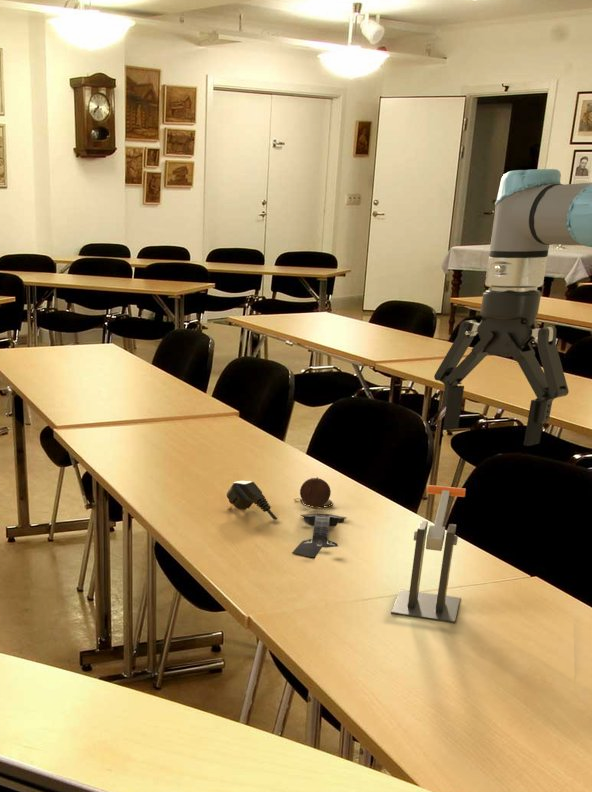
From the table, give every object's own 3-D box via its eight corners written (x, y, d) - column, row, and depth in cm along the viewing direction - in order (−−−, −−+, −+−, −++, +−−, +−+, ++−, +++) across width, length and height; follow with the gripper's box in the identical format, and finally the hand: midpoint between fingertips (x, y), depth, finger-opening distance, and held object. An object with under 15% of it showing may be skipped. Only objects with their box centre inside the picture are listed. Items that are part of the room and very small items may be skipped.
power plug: (269, 520, 182) (232, 476, 186) (250, 543, 187) (215, 501, 192) (286, 513, 185) (250, 471, 189) (267, 536, 190) (233, 495, 195)
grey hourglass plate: (291, 558, 164) (292, 540, 162) (300, 515, 185) (301, 499, 184) (343, 562, 161) (345, 544, 160) (346, 517, 183) (348, 501, 182)
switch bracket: (399, 596, 146) (409, 514, 141) (459, 604, 142) (472, 520, 137) (390, 619, 138) (400, 532, 133) (453, 628, 134) (467, 540, 129)
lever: (427, 492, 144) (428, 480, 143) (465, 496, 142) (466, 484, 140) (414, 548, 137) (414, 536, 135) (453, 552, 134) (454, 540, 133)
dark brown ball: (334, 502, 194) (337, 469, 191) (327, 513, 187) (330, 479, 185) (296, 499, 197) (299, 466, 194) (289, 510, 191) (291, 476, 188)
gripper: (421, 286, 137) (405, 425, 146) (583, 295, 118) (553, 455, 126) (453, 283, 141) (435, 419, 149) (615, 291, 121) (584, 447, 129)
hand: (489, 436), depth 137 cm, fingers open, 13 cm apart
